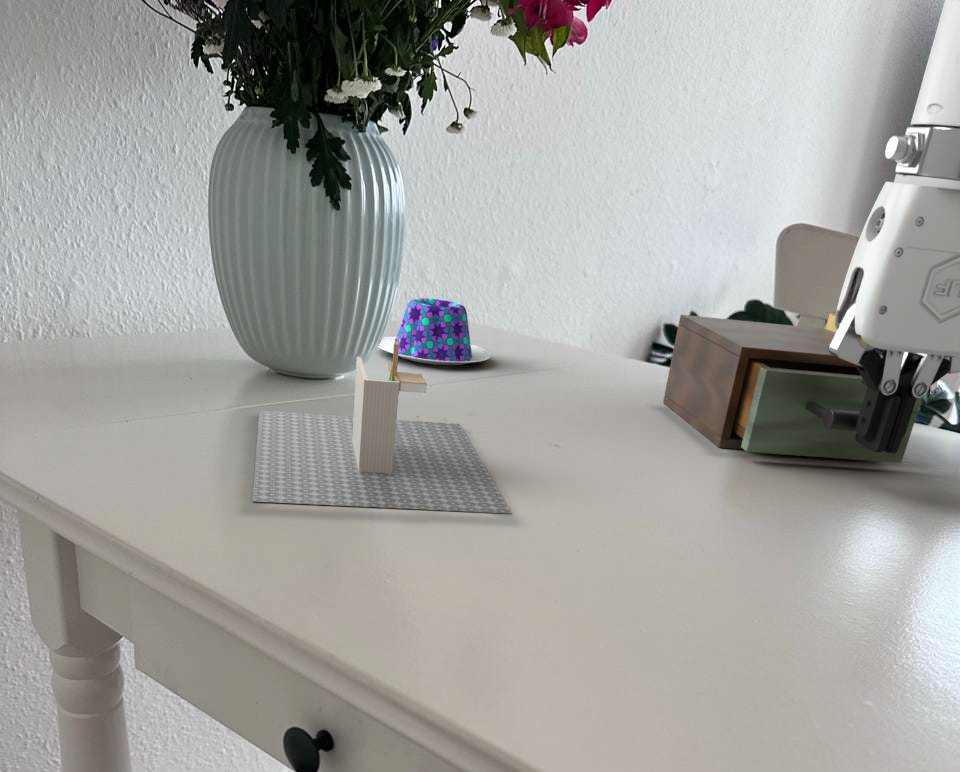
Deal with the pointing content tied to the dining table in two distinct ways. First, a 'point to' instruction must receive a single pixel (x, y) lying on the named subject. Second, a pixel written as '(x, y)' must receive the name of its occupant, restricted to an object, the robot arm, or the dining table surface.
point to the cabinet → (732, 367)
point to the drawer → (806, 411)
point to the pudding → (435, 334)
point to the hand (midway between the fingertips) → (875, 446)
